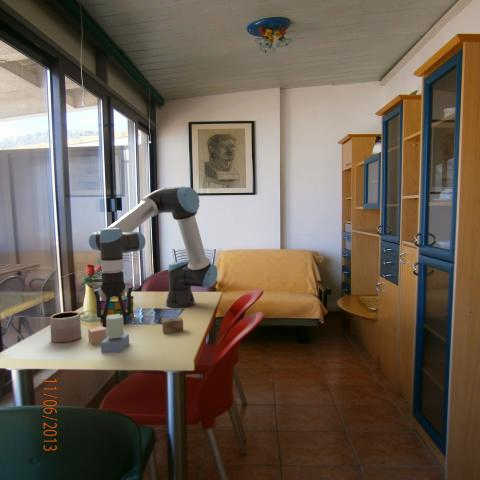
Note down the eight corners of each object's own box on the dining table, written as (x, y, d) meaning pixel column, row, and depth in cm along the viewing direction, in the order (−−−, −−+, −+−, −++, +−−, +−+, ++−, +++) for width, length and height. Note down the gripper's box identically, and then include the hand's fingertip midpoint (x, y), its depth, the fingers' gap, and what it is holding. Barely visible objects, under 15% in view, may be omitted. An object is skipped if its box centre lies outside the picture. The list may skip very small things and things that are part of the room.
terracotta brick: (109, 337, 150) (109, 325, 150) (113, 340, 147) (112, 327, 146) (88, 341, 146) (88, 328, 145) (91, 344, 142) (91, 331, 142)
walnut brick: (181, 328, 160) (181, 317, 159) (183, 332, 155) (182, 320, 155) (162, 330, 157) (162, 319, 157) (163, 334, 153) (163, 322, 153)
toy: (122, 323, 168) (121, 301, 167) (100, 322, 170) (99, 300, 169) (134, 316, 179) (133, 296, 178) (113, 315, 181) (113, 295, 181)
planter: (61, 345, 141) (60, 320, 141) (45, 340, 147) (43, 316, 146) (87, 337, 151) (86, 313, 150) (70, 332, 156) (69, 310, 156)
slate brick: (129, 344, 142) (128, 334, 142) (120, 353, 133) (120, 342, 133) (110, 344, 143) (110, 334, 142) (101, 353, 134) (100, 342, 133)
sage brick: (120, 332, 141) (119, 313, 141) (122, 336, 136) (121, 317, 135) (107, 334, 139) (107, 315, 139) (109, 338, 134) (108, 319, 133)
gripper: (135, 267, 143) (137, 328, 145) (85, 271, 135) (88, 335, 137) (139, 270, 136) (141, 333, 138) (87, 274, 129) (90, 341, 130)
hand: (115, 334), depth 137 cm, fingers closed on sage brick, 4 cm apart
